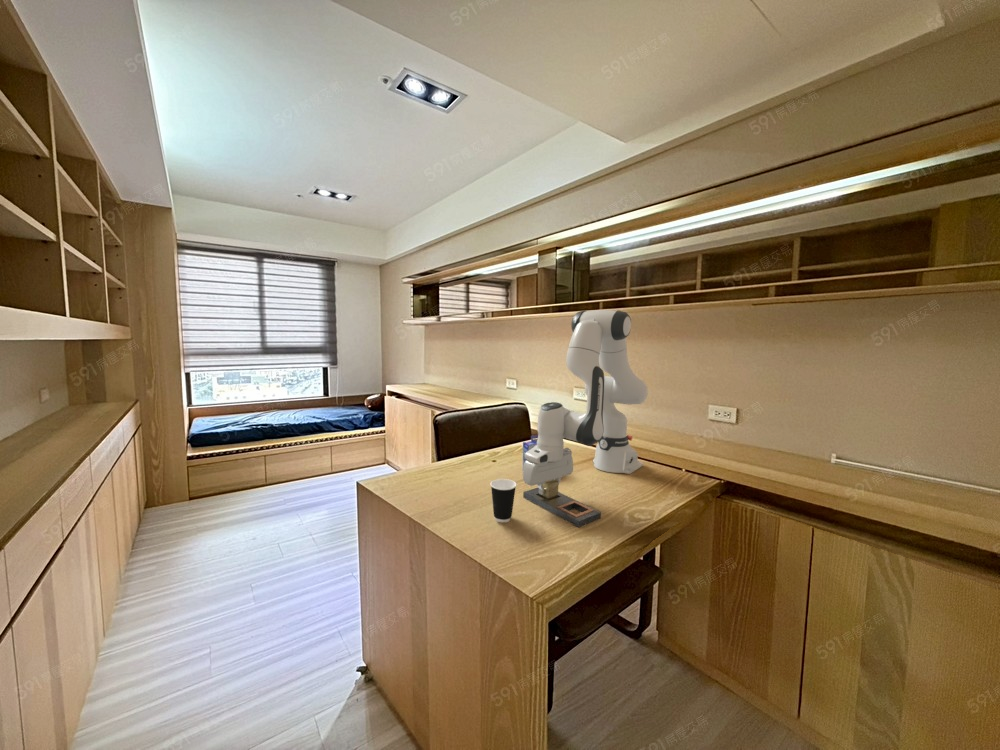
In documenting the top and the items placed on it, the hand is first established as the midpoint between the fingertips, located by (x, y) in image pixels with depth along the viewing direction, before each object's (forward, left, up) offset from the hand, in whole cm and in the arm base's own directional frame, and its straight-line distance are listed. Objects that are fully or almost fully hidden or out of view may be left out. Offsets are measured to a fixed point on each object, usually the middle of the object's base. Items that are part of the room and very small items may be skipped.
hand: (548, 491), depth 127 cm
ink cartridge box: (-16, -24, -4) cm, 29 cm away
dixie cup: (+20, +1, -4) cm, 20 cm away
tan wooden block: (0, 0, -3) cm, 3 cm away
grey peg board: (0, +6, -3) cm, 7 cm away
